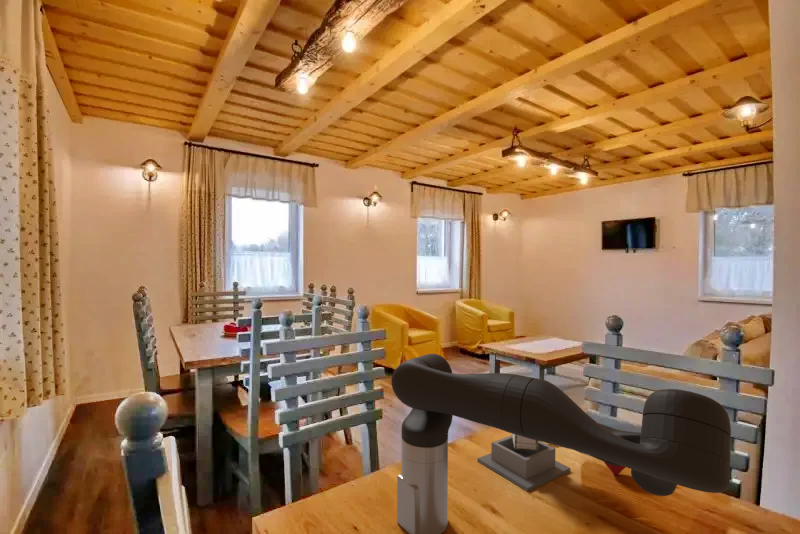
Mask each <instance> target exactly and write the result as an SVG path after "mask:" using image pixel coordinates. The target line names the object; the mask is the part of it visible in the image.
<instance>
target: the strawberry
mask: <svg viewBox="0 0 800 534" xmlns="http://www.w3.org/2000/svg"><path fill="white" fill-rule="evenodd" d="M603 463H604V464H605V465H606V467H607V468H608V469H609V470H610V472H611V473H612V474H613V475H615V476H616V475H617V476H618V475H619V474H620V473H621V472H622V471H623V470H625V469H626V467H624V466H621V465H620V466H614V465H611V464H608V463H606V462H604V461H603Z"/></svg>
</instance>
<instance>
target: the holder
mask: <svg viewBox="0 0 800 534" xmlns="http://www.w3.org/2000/svg"><path fill="white" fill-rule="evenodd" d="M476 461H477V462H478V463H480V464H481V465H483V466H484V467H486V468H488V469H489V470H491V471H493V472H495V473H496V474H498V475H499V476H501V477H502V478H504V479H506V480H507V481H509V482H511V483H512V484H514V485H515V486H517V487H518V488H520V489H523V490H524V491H526V492H528V491H529V492H530V491H531V490H533V489H536V488H537V487H540V486H542V485H544V484H546V483H549V482H550V481H552V480H556V479H557V478H559V477H561V476H563V475H565V474H568V473H569V472H571V467H570V466H567V465H566V464H563V463H561V462H559V461H557V460H556V448H555V447H553V446H551V445H550V444H549V445H548V443H545V442H541V441H538V451H533V450H521V449H515V448H514V443H513V439H512V434H511V435H509V436H506V437H504V438H500V439H497V440H494V441H492V442H491V452H490V453H488V454H485V455H483V456H479V457H477V460H476Z"/></svg>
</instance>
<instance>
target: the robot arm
mask: <svg viewBox="0 0 800 534" xmlns="http://www.w3.org/2000/svg"><path fill="white" fill-rule="evenodd" d="M390 383H391V389H392V391H393V393H394V395H395V396H396V397H397V399H398V400H399V401H400V402H401V403H402V404H404V405H405V406H406V407H408V408H411V410H410V412H409V413H408V414H407V416H406V417H405V418H404V420H403V421H402V423H401V459H400V461H401V465H400V466H401V467H400V468H401V470H400V471H401V473H400V474H398V475H397V476H396V478H397V479H396V488H397V489H396V495H397V496H396V499H397V500H396V503H397V504H396V523H397V524H398V525H400V526H401V528H402V529H403V530H404V531H405V532H407V534H443V533H444V532H445V531H446V529H447V527H448V524H449V523H448V519H449V518H448V516H449V514H448V513H449V512H448V509H449V508H448V507H449V506H448V504H449V503H448V502H449V501H448V500H449V496H448V495H449V493H448V491H449V489H448V488H449V480H448V479H449V472H448V471H449V431H450V427H451V425H452V422H453V416H454V417H457V418H462V419H464V420H466V421H467V420H468V421H471V422H473V423H477V424H481V425H483V426H488V427H491V428H494V429H498V430H500V431H504V432H506V433H510V434H511V435H512V434H516V435H519V436H522V437H526V438H529V439H533V440H537V441H540V442H542V443H544V444H549V445H554V446H557V447H561V448H565V449H569V450H573V451H576V452H577V453H579V454H583V455H586V456H590V457H592V458H594V459H597V460H599V461H602V462H603V463H604V462H606V463H608V464H611V465H614V466H620V465H621V466H624V467H625V468H626V469H630V474H631V475H630V476H631V478H632V479H633V481H634V482H635V483H636V484H637V486H638V487H639V488H641V489H642V490H643V491H645V492H647V493H649V494H651V495H654V496H659V497H667V496H670V495H673V493H675V491H676V489H677V486H681V487H684V488H687V489H691V490H693V491H698V492H699V491H700V492H703V493H710V494H711V493H712V494H719V493H724V492H726V491H727V490H729V487H730V479H731V444H732V440H731V439H732V438H731V436H732V427H731V421H730V416H729V414H728V411H727V410H726V409H725V408H724V406H723V405H722V404H721V403H719V402H718V401H717V400H715V399H714V398H711V397H708V396H706V395H703V394H701V393H697V392H693V391H689V390H684V389H678V388H664V389H659V390H655V391H654V392H652V393H651V394H649V395H648V396H647V398H646V400H645V402H644V405H643V411H642V420H641V427H640V428H641V429H640V432H636V431H627V430H623V429H622V430H620V429H616V428H614V427H610V426H608V425H605V424H602V423H599V422H598V421H596V420H595V419H593V417H591V416H590V415H589V414H588V413H587V412H585V411H584V410H583V409H582V408H581V407H580V406H579V405H578V404H577V403H576V402H575V401H574V400H573V399H572V398H570V397H569V395H567V394H566V393H565V392H564V391H563V390H561V389H560V388H559V387H558V386H556V385H555V384H553V383H552V382H550V381H549V380H547V379H546V380H545V379H540V378H536V377H532V376H525V375H521V374H520V375H519V374H514V373H503V372H493V373H492V372H488V373H487V372H486V373H462V374H461V373H454V372H453V370H452V368H451V365H450V364H449V362H448V361H447V360H446V359H445V357H443V356H442V355H439V354H438V353H437V354H436V353H428V354H423V355H420V356H417V357H413V358H410V359H408V360H406V361H403V362H402V363H401V364H399V365H398V366H397V367H395V369H394V371H393V373H392V375H391V382H390Z"/></svg>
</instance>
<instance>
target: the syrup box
mask: <svg viewBox="0 0 800 534" xmlns="http://www.w3.org/2000/svg"><path fill="white" fill-rule="evenodd" d="M511 435H512V439H513V443H514V448H515V449H521V450H533V451H538V441H537V440H533V439H529V438H526V437H522V436H519V435H516V434H512V433H511Z"/></svg>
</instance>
